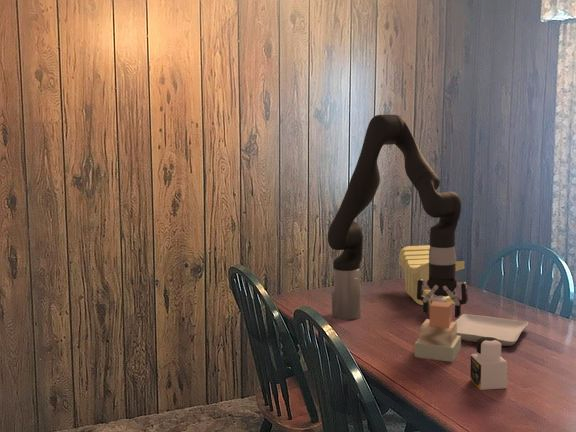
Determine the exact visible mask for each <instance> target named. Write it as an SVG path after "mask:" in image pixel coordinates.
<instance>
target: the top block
mask: <svg viewBox="0 0 576 432" xmlns="http://www.w3.org/2000/svg"><path fill="white" fill-rule="evenodd" d="M418 333H419V334H418V336H419V338H418V339H419V343H424V344H433V345H441V346H450V347H451V346H452V344H453V342H454V341H455V339H456V337H457V322H455V321H452V323H451V325H450V327H449V328H441V327H431V326H430V318H429V319H428V318H426V319H425V320H424V322H423V323H422V324H421V325H420V326H419V332H418Z"/></svg>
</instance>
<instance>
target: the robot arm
mask: <svg viewBox="0 0 576 432" xmlns="http://www.w3.org/2000/svg"><path fill="white" fill-rule="evenodd" d="M365 131H366V132H365V135H364V138H363V139H364V140H363V142H362V147H361V149H360V150H361V151H360V153H359V157H358V159H357V163H356V164H355V168H354V170H353V173H352V176H351V178H350V180H349V183H348V186H347V189H346V191H345V193H344V196H343V199H342V201H341V203H340V206H339V208H338V210H337V212H336V214H335V216H334V218H333V220H332V222H331V223H330V226H329V228H328V231H327V242H328V243H327V244H328V246H329V247H330V248H331V249H332V250H335V251H342V252H341V254H340V255H339V256H338V257H336V258H334V260H333V264H332V266H333V272H332V273H333V289H332V290H331V312H332V313H331V316H332V317H333V318H336V319H339V320H344V321H345V320H347V321H349V320H357V319H359V318H360V317H361V316H362V315H361V313H362V310H361V309H362V308H361V303H362V302H361V299H362V297H361V262H362V259H363V243H364V242H363V231H362V227H361V226H360V224H359V223H358V222H357V221H355V220H356V218H357V217H358V216H359V215H360V214H361V213H363V211H364V210H365V209H366V208H368V206H369V205H370V204H371V203H372V201H373V199H374V198H375V196H376V193H377V191H378V188H379V186H380V182H381V176H380V170H379V166H378V159H379V157H380V152H381V150H382V148H383V147H384V145H386V146H387V145H388V146H389V145H395V146H396V147H397V148H398V149H399V151H401V152H402V155H403V160H404V169H405V175H407V178H408V179H409V182H411V183H412V185H413V187H414V188H415V190H416V191H417V193H418V197H419V199H420V202H421V205H422V208H423V210H424V212H425V213H426V214H427V215H429V217H431V218H433V219H434V218H435V219H436V218H438V219H439V221H438V223H436V224H434V225H432V226H431V227H430V229H429V245H430V249H429V279H428V280H424V279H423V278H421V279H420V280H418V286H417V299H418V300H421V301H423V305H422V308H423V309H422V311H423V313H424V314H425V315H426V316H427V315H430V305H429V301H428V300H429V299H430V297H431V296H432V295H433V294H435V295H436V296H445V297H447V296H449V297H450V298H451V299H452V300H453V301H454V302H455V304H454V318H455V319H458V318H459V317H461V315H462V305H466V304H467V302H468V301H469V298H468V297H469V296H468V294H469V293H468V283H467V281H463V282H458V281H457V279H456V276H457V275H456V272H457V271H456V261H457V256H456V255H457V253H456V229H457V227H458V223H459V220H460V216H461V212H462V202H461V198H460V197H459V195H458V193H456V192H455V191H452V190H451V191H441V192H437V189H439V187H440V184H441V182H440V178H439V176H438V175H437V174H436V172H435V171H434V170H433V169H432V167H431V166H430V164H429V163H428V161H427V160H426V159H425V157H424V156H423V153H422V152H421V149H420V148H419V145H418V144H417V142H416V140H415V137H414V136H413V133H412V131H411V129H410V126H409V125H408V124H407V122H406V120H405V119H404V118H403V117H402V116H401V115H398V114H377V115H374V116H373V117H371V119H370V121H369V123H368V124H367V128H366V130H365ZM426 286H428V288H429V290H431V291H430V292H429V293H428V294H427V295H426V296H423V287H424V288H425V287H426ZM457 288H458V289H459V290H460V292H461V298H460V297H459V295H458V293H457V292H456V290H455V289H457Z"/></svg>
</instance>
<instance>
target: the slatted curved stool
mask: <svg viewBox="0 0 576 432" xmlns="http://www.w3.org/2000/svg"><path fill="white" fill-rule="evenodd" d="M429 249H430V244H428V245H425V244H424V245H408V246H404V247H403V248H401V250H400V252H399V254H398V259H399V260H398V265H399V266H401V267H402V270H403V271H404V284H405V292H406V293H407V295H408V296H409V297H410V298H412V300H413V301H414V302H416V303H417V304H418V305H421V306H423V301H421V300H418V299H417V286H418V280H420V279H421V278H423V279H424V280H428V279H429ZM464 269H465V260H458V261H457V260H456V272H458V271H460V270H464ZM430 291H431V289H425V287H423V296H426V295H427V294H428V293H429V292H430ZM432 296H433V295H432ZM432 296H431V297H432ZM431 297H430V299H431ZM444 297H445V296H444ZM430 299H429V300H428V301H429V306H430ZM446 299H447V302H449V303H452V305H456V304H455V302H454V301H453V300H452V299H451V298H450V297H449V296H447V297H446Z"/></svg>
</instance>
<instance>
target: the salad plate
mask: <svg viewBox="0 0 576 432" xmlns="http://www.w3.org/2000/svg"><path fill="white" fill-rule="evenodd" d="M454 322H457V336H461V341H465V342H466V341H467V342H474V343H477V340H478V339H480V338H483V337H493V338H496V339H498V340H500V341H501V347H509V346H513V345H515V344H516V342H517V341H518V339H519V337H520V335H521V333H522V332H523V331H524V330H525V329H527V327H528V325H529V322H528V321H522V320H516V319H509V318H503V317H502V318H501V317H495V316H488V315H487V316H486V315H477V314H470V313H469V314H468V313H463V314H461V315H460V316H458V318H456V319H455V320H454Z"/></svg>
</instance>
